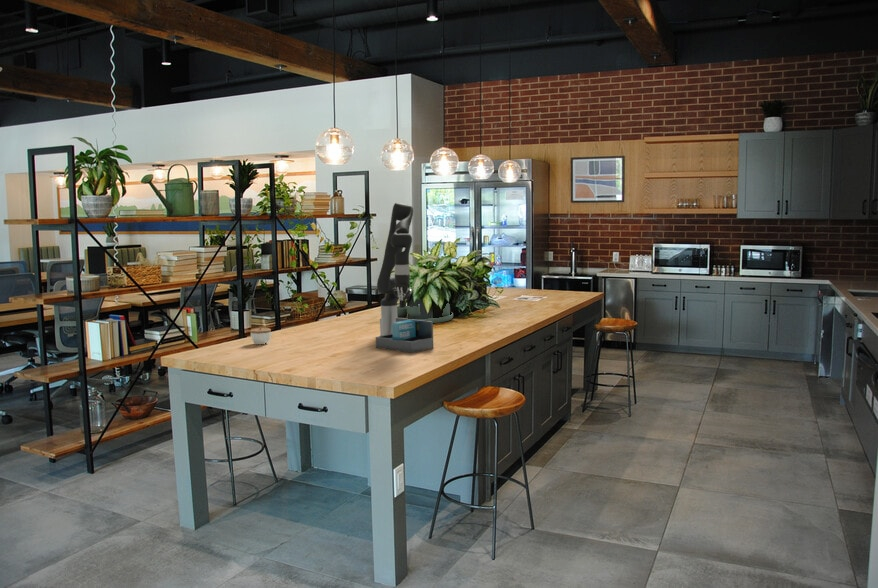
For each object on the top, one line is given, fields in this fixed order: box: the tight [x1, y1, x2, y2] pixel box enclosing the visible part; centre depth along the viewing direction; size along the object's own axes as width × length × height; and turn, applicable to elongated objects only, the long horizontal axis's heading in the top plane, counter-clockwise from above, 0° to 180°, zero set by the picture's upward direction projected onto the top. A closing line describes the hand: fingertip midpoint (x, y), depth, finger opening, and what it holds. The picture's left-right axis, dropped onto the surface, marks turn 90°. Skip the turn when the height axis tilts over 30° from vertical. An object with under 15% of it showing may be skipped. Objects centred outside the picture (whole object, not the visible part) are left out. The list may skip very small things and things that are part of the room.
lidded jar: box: [249, 326, 272, 345], centre depth 376 cm, size 11×11×9 cm
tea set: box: [397, 303, 454, 324], centre depth 449 cm, size 40×40×16 cm
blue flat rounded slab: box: [392, 320, 416, 340], centre depth 355 cm, size 12×4×12 cm, turn 135°
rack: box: [375, 318, 434, 354], centre depth 355 cm, size 25×16×14 cm, turn 50°
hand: (402, 307), depth 353 cm, fingers closed
